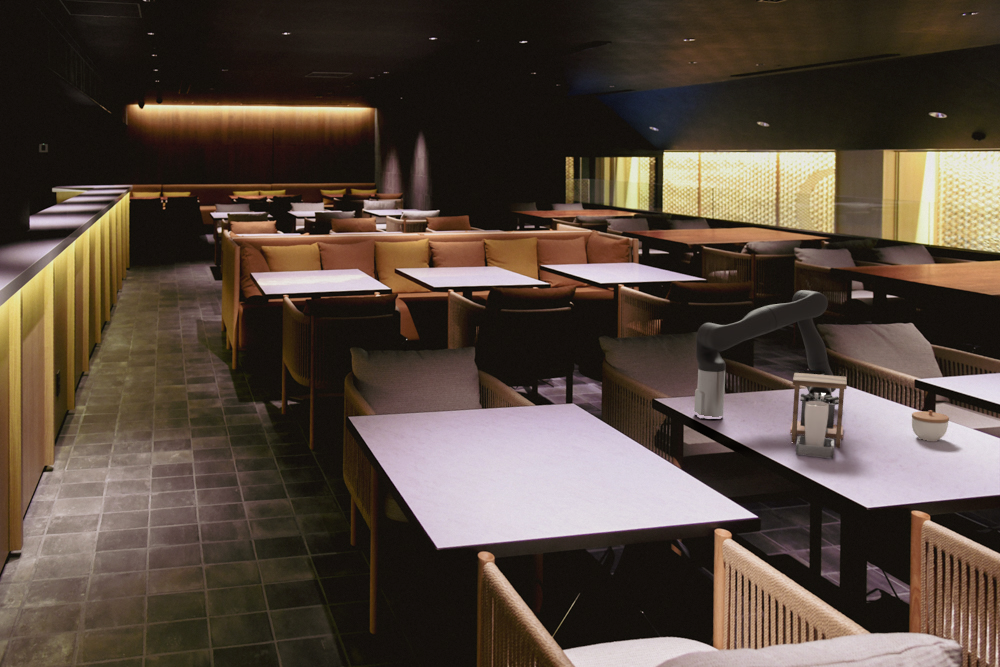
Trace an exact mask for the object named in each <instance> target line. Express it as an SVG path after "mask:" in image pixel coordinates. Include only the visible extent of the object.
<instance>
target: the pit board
mask: <svg viewBox="0 0 1000 667" xmlns="http://www.w3.org/2000/svg"><path fill="white" fill-rule="evenodd" d="M800 425H801V420H797V434H804V435H803V436H805V426H800ZM789 430H790V433H792V423H791V425H790V429H789ZM836 430H837V424H833V429H830V428H826V433H825V438H826V437H830V438H829V439H835V438H836ZM843 430H844V426H843V424H842V427H841V440H844V439H843V438H844V437H843V435H844V434H843V433H844V431H843ZM790 433H789V434H790Z"/></svg>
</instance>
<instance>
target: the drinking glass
mask: <svg viewBox="0 0 1000 667" xmlns="http://www.w3.org/2000/svg"><path fill="white" fill-rule="evenodd" d="M828 412H829V405H828V404H827V403H825V402H820V401H808V402H806V405H805V435H804V436H805V445H813V446H823V447H824V440H825V438H826V437H825V433H826V427H827V421H828Z"/></svg>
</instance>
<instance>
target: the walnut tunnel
mask: <svg viewBox="0 0 1000 667" xmlns="http://www.w3.org/2000/svg"><path fill="white" fill-rule="evenodd" d="M792 386H794V391H793V392H794V393H793V408H792V410H793V411H792V420H791V424H792V434H791V438H790V440H791V441H790V443H791V442H793V443H792V444H794V443H795V444H796V442H797V436H798V435H797V421H799V420H798V418H799V401H800V387H807V386H811V387H824V388H836V390H837V389H838V390H839V391H838V397H839V402H838V404H837V406H838V407H837V418H836V425H837V430H836V439H835V449H840V448H841V440H842V439H841V427H842V425H843V411H844V410H843V409H844V407H843V406H844V398H845V396H844V395H845V390H847V386H848V384H847V376H843V375H841V376H840V375H834V376H830V375H821V374H816V373H815V374H814V373H802V372H801V373H799V372H794V374H793V379H792Z"/></svg>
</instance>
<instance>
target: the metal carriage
mask: <svg viewBox="0 0 1000 667" xmlns="http://www.w3.org/2000/svg"><path fill="white" fill-rule="evenodd" d="M806 402H807V401H801V413H800V414H801V416H800V421H801V425H800V426H805V405H806ZM827 404H828V405H829V412H828V421H827V427H826V428H830V429H833V425H835V424H834V423H835V422H834V421H835V408H836V407H835V406H836V405H835V404H830V403H827ZM834 450H835V438H826V437H825V440H824V447H823V446H813V445H805V435H797V436H796V442H795V455H799V456H800V455H802V456H810V457H819V458H820V457H821V458H827V459H828V458H831V459H834V455H835V454H834Z"/></svg>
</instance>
